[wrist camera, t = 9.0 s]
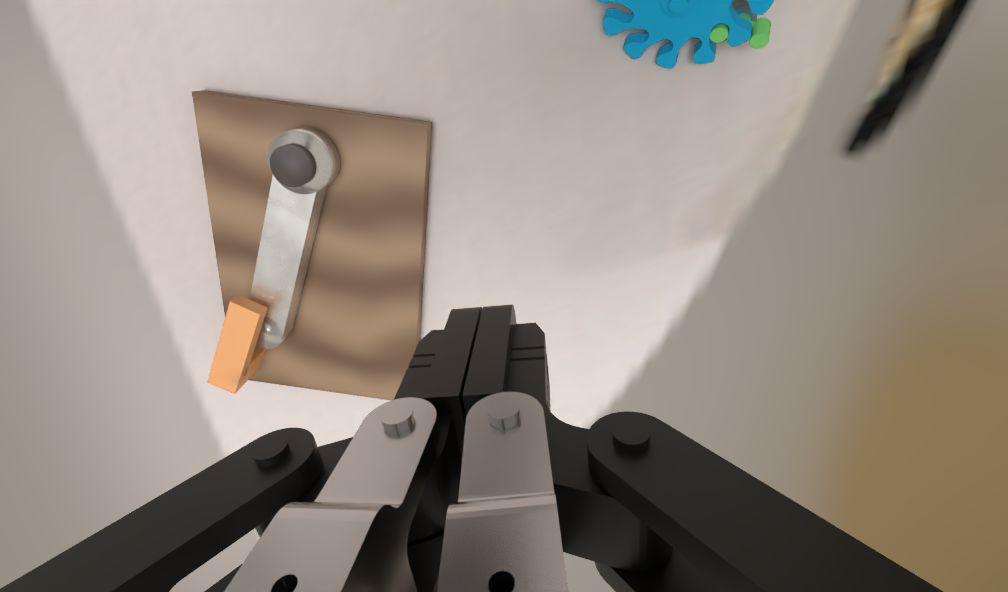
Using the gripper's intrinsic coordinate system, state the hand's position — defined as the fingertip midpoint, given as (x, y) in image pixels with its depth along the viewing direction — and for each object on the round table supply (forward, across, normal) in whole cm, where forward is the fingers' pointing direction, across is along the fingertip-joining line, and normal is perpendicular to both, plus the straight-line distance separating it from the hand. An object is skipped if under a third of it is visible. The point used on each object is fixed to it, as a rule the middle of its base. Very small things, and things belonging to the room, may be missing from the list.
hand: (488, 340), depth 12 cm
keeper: (+26, +25, +12) cm, 37 cm away
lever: (+25, +19, +4) cm, 32 cm away
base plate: (+27, +18, +7) cm, 33 cm away
